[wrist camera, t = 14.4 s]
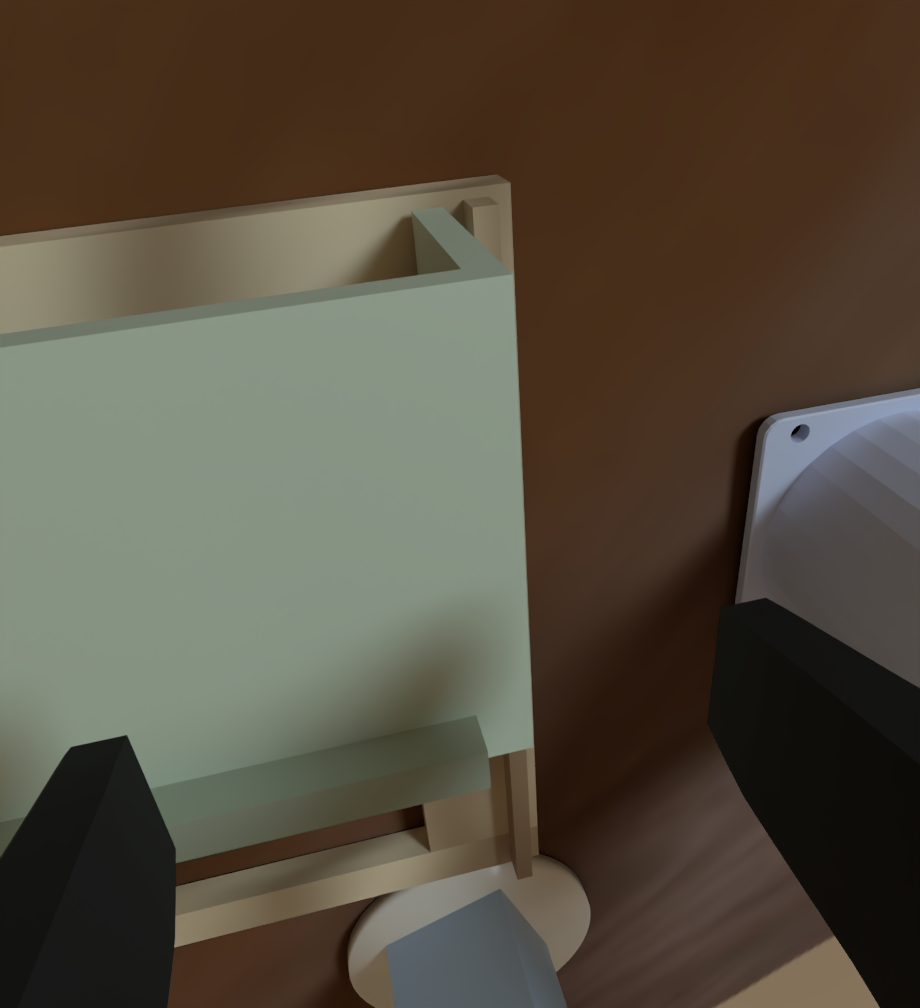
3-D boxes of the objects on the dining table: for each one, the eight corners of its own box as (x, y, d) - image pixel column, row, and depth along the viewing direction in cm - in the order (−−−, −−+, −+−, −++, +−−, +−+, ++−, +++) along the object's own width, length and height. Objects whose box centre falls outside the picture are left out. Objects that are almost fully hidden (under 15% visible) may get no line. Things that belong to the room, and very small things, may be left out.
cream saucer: (585, 824, 28) (591, 839, 27) (584, 964, 33) (589, 979, 32) (327, 889, 26) (329, 906, 26) (365, 1025, 31) (367, 1041, 31)
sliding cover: (442, 207, 15) (532, 292, 10) (476, 600, 20) (547, 782, 15) (-271, 299, 13) (-572, 455, 8) (-40, 704, 18) (-145, 949, 13)
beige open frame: (496, 174, 16) (521, 189, 15) (530, 829, 27) (546, 876, 26) (-329, 277, 14) (-400, 307, 12) (71, 943, 25) (59, 1002, 24)
